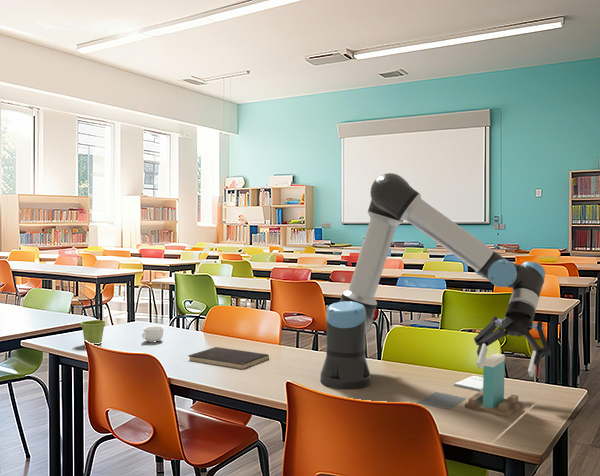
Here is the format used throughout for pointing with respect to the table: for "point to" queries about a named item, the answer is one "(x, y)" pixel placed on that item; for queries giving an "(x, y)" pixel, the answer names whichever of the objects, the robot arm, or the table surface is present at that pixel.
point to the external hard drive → (471, 383)
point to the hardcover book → (229, 357)
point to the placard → (493, 380)
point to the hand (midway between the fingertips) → (503, 370)
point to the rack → (501, 409)
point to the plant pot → (93, 330)
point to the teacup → (153, 333)
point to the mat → (441, 400)
